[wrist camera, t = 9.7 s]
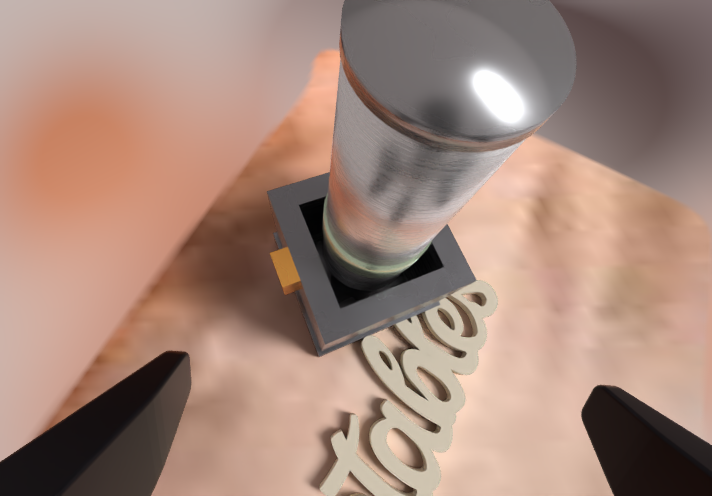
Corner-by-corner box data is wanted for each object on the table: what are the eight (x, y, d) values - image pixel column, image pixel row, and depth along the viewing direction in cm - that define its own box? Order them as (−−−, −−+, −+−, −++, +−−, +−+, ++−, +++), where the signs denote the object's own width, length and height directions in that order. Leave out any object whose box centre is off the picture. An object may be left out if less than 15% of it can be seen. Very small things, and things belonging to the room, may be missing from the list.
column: (423, 273, 18) (625, 99, 6) (340, 306, 17) (404, 170, 5) (387, 197, 19) (502, -66, 7) (307, 223, 18) (301, -34, 6)
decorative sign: (370, 946, 13) (134, 808, 14) (366, 909, 14) (146, 781, 15) (546, 308, 22) (401, 237, 23) (537, 310, 23) (397, 242, 23)
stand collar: (434, 307, 22) (482, 283, 16) (308, 361, 20) (307, 357, 14) (384, 201, 24) (410, 143, 18) (265, 242, 22) (248, 192, 16)
